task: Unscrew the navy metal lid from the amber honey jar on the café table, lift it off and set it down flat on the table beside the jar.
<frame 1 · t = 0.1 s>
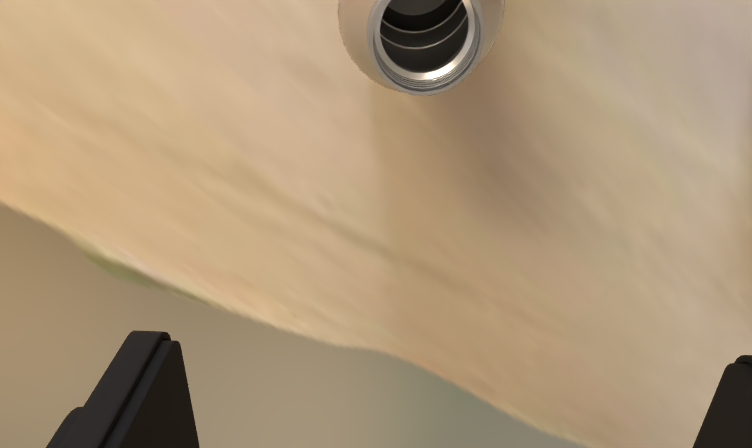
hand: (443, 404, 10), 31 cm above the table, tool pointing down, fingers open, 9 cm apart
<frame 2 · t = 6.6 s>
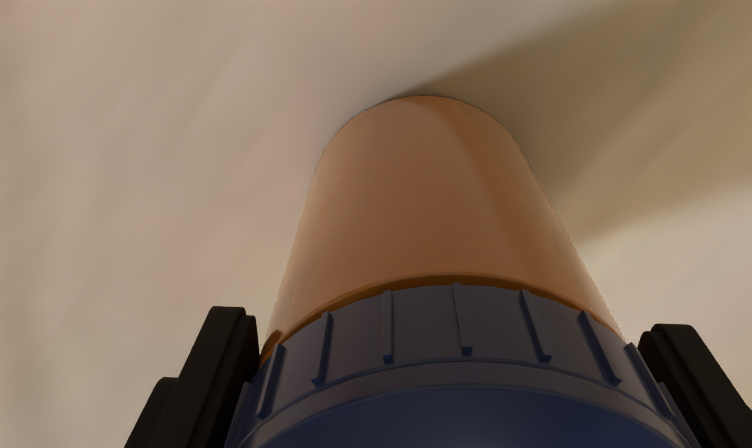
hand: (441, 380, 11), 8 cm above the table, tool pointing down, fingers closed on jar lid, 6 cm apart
honey jar: (420, 203, 18), on the table, touching gripper
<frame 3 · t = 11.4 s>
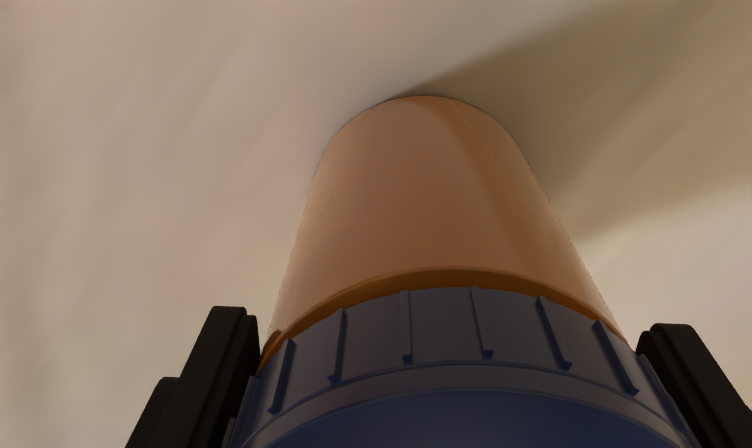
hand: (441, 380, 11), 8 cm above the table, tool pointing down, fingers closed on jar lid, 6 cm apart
honey jar: (420, 202, 18), on the table, touching gripper
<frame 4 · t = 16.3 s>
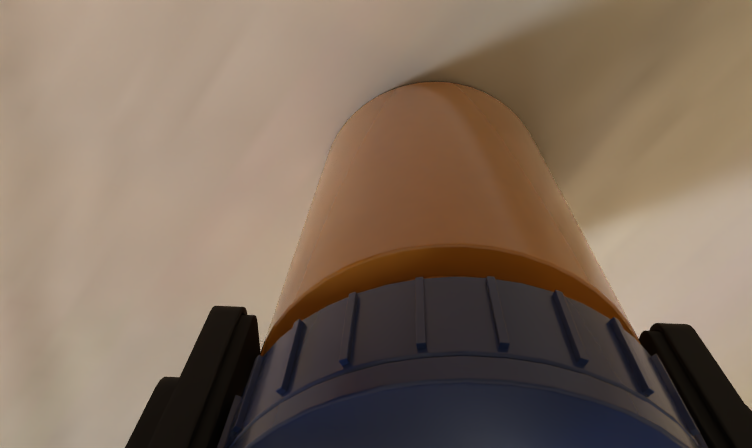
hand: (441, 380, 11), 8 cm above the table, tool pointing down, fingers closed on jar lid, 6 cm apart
honey jar: (431, 189, 18), on the table, touching gripper
when the fingers open (0 cm above the table, at t = 23.8 s): jar lid drops 2 cm, point 2 cm above the table.
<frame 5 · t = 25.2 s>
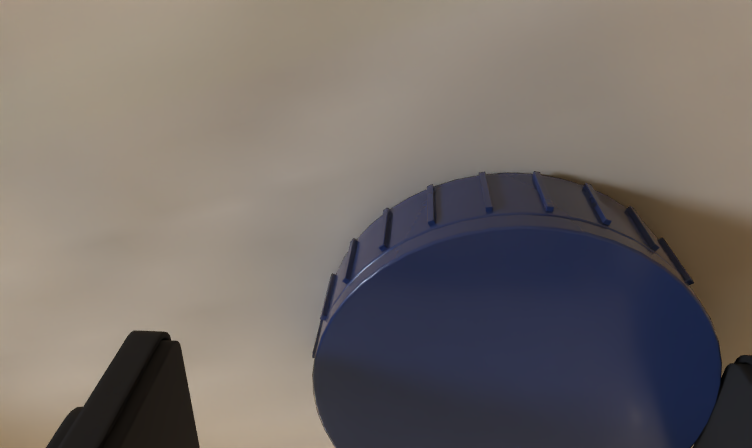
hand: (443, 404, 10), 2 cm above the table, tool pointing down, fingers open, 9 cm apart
jar lid: (506, 382, 10), point 2 cm above the table, off its thread, touching gripper
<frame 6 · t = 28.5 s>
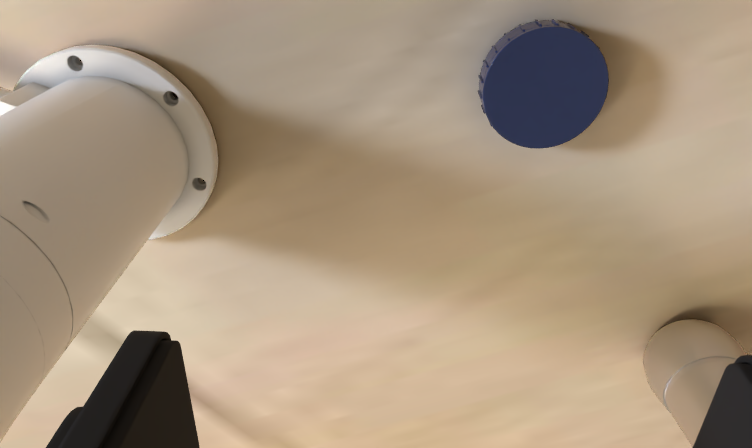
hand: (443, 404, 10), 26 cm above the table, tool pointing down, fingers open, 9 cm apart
jar lid: (543, 88, 32), point 1 cm above the table, off its thread
plastic bottle: (678, 342, 43), on the table
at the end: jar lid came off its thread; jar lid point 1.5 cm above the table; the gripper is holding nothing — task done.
